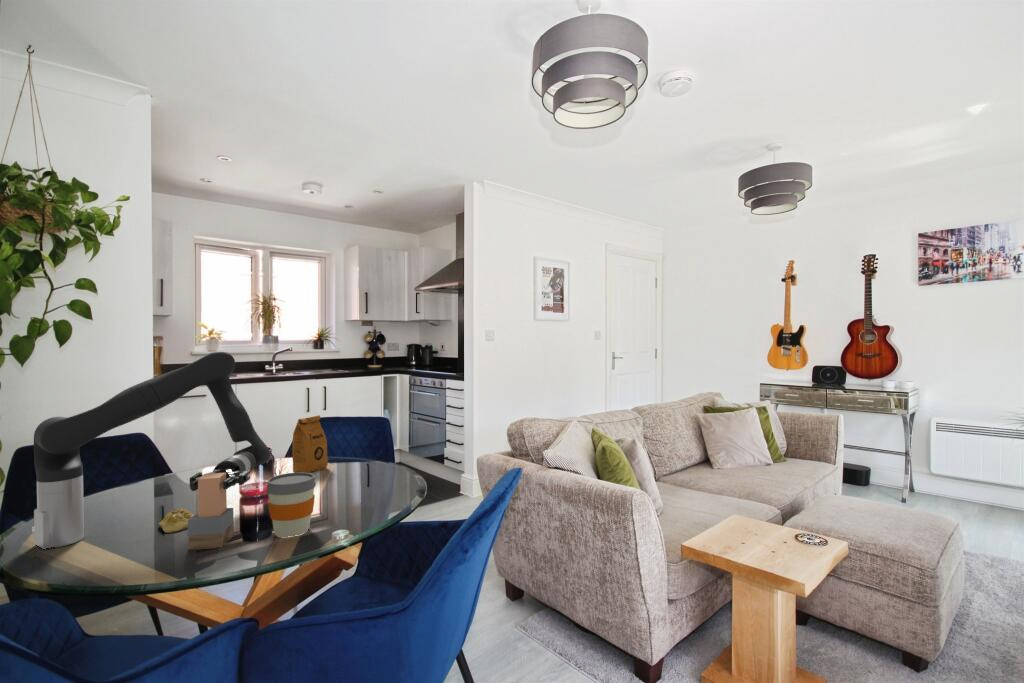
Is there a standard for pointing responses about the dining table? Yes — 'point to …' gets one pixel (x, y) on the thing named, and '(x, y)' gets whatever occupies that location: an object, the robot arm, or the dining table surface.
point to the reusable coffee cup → (291, 502)
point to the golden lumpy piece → (175, 521)
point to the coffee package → (309, 446)
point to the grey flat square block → (210, 523)
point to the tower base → (210, 539)
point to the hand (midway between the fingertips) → (208, 486)
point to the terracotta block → (211, 495)
